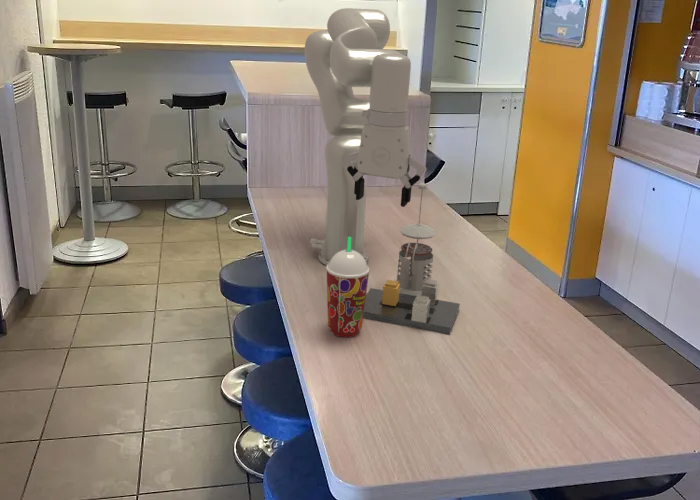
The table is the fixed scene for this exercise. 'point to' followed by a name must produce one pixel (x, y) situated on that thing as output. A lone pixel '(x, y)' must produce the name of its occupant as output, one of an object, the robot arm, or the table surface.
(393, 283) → the orange rectangular block
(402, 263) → the french press
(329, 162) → the robot arm
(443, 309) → the panel
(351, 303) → the smoothie
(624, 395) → the table surface
